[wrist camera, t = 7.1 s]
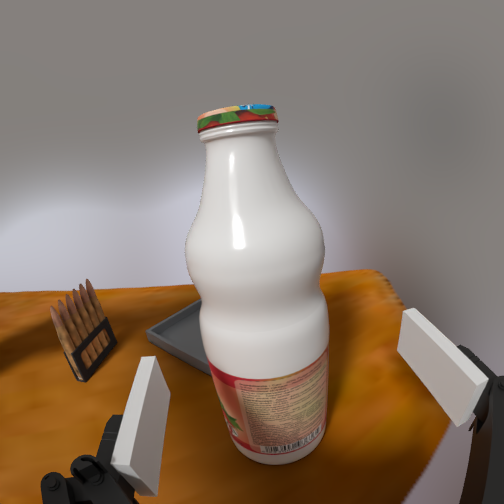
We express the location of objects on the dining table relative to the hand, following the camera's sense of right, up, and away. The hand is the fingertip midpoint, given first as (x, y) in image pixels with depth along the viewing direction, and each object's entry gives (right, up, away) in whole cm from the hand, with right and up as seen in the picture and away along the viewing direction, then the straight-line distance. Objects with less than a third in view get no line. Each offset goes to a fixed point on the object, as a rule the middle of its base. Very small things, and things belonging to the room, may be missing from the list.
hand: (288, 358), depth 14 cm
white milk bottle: (+1, -13, +12) cm, 17 cm away
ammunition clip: (-25, -12, +25) cm, 38 cm away
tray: (-8, -7, +30) cm, 32 cm away
